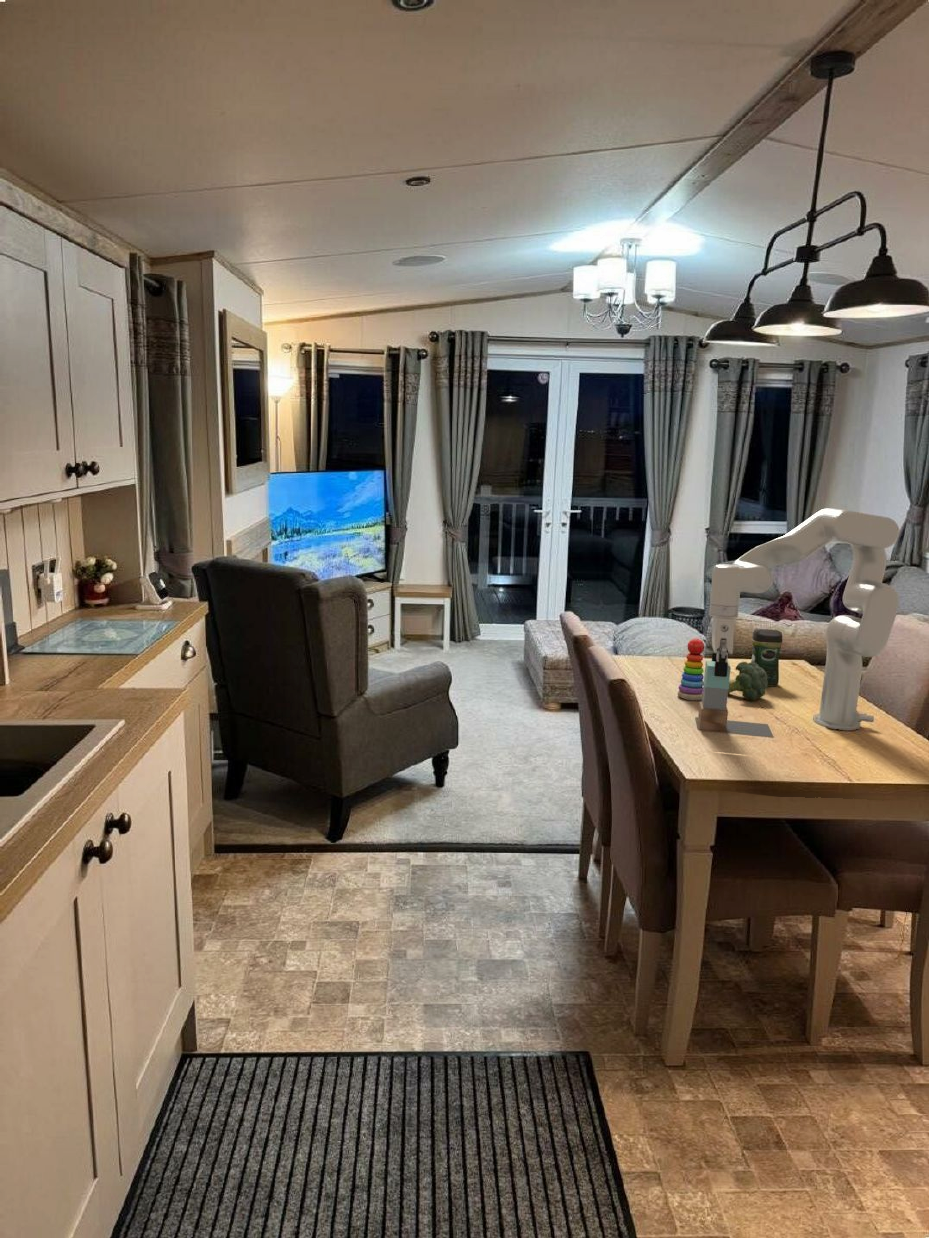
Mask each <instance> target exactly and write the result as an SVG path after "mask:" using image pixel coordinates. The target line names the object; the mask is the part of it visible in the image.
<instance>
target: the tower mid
mask: <svg viewBox="0 0 929 1238" xmlns="http://www.w3.org/2000/svg"><path fill="white" fill-rule="evenodd" d="M702 687H703V692H702V693H703V695H702V699H701V702H702V705H703V708H704V709H715V710H726V707H727V706H728V705H727V704H728V696H729V694H728V689H720V688H708V687H705V684H704V685H703V686H702Z"/></svg>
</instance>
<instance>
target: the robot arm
mask: <svg viewBox="0 0 929 1238" xmlns="http://www.w3.org/2000/svg"><path fill="white" fill-rule="evenodd" d="M899 536H900V527H899V525H898V523H897V522H896V521H895V520H894V519H892V518H890V517H888V516H881V515H875V514H868V513H863V512H859V511H854V510H850V509H843V508H835V507H827V508H826V507H825V508H822V509H820V510H819V511H817V512H815V513H814V514H812V515H811V516H810V517H808V518H807V519H806V520H804V521H803V522H801V523H800V524H798V525H797V526H796V527H795V528H793V529H792V530H790V531H789V532H787V533H785V535H784V534H783V536H780V537H777V538H774V539H772V540H770V541H766V542H765V543H762V544H760V545H757V546H755V547H754V548H751V549H750V550H748V551H747V552H745V553H744V554H743V555H741V556H740V557H739V558H737V559H735V560H734V561H733V563H732V564H727V563H720V564H716V565H714V566H713V569H712V576H711V584H710V585H711V588H710V598H709V599H710V601H709V611H708V615H709V616H710V617H712V618H713V619H712V630H711V647H712V653H711V654H712V655H711V661H715V672H714V675H715V676H719V677H726V676H727V668H728V663H729V662H728V661H729V660H728V659H729V657H728V654H729V655H732V654H733V652H734V637H735V619H737V618H739V611H740V610H739V608H740V599H741V598H740V597H741V593H751V594H762V593H766V592H767V591H768V590H769V589H771V587H772V586H773V584H774V575H773V572H772V571H771V570H770V569H772V568H774V567H779V566H782V565H783V566H784V565H790V564H797V563H800V562H803V561H805V560H807V559H809V557H811V556H812V555H814V554H815V553H816V552H818V551H819V550H821V549H822V548H823V547H825V546H826V545H827V544H829V543H830V542H832V541H836V542H841V543H846V544H849V545H850V547H851V550H852V556H853V559H852V560H853V561H852V565H851V568H850V572H849V575H848V579H847V582H846V585H845V587H844V591H843V594H842V603H843V605H844V606H845V608H846V609H848V610H850V611H852V612H855V613H858V614H861V615H862V616H861V618H860V617H856V616H854V615H849V614H848V615H847V614H843V615H842V614H841V615H837V616H835V617H832V619H831V620H830V621H829V623H828V624H827V626H826V631H825V639H826V641H825V643H826V660H825V667H824V674H823V683H822V688H821V689H822V691H821V699H820V708H819V712H818V713H816V714H815V715H813V716H812V721H813V722H814V723H815V724H817V725H820V726H821V727H822V726H823V727H824V728H827V729H832V730H836V729H839V731H855V730H856V729H857V730H859V729H860V728H861V723H862V722H868V723H873V722H874V720H875V718H874V715H870V714H868V713H863V712H859V711H858V709H857V707H858V701H859V695H860V694H859V693H860V687H861V686H860V685H861V679H862V678H861V677H862V672H863V658H862V657H865V658H872V657H875V656H878V655H879V654H881V653H882V651H883V650H884V649H885V647H886V645H887V643H888V641H889V638H890V635H891V633H892V629H893V626H894V624H895V620H896V617H897V615H898V611H899V607H900V599H899V598H900V597H899V594H898V592H897V591H896V589H895V588H894V587H893V586H892V585H889V584H887V583H883V580H884V576H885V571H886V568H887V562H888V561H887V553H886V549H889V548H890V547H892V546H893V545H895V544H896V542H897V541H898V538H899Z"/></svg>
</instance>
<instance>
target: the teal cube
mask: <svg viewBox="0 0 929 1238" xmlns="http://www.w3.org/2000/svg"><path fill="white" fill-rule="evenodd" d="M731 669H732V668H731V666H730V663H729V662H728V668H727V676H726V677H719V676H715V675H714V672H715V661H712V660H705V667H704V674H703V676H704V678H703V682H704V684H705V687H708V688H720V689H729V680H731V679H730V678H731Z"/></svg>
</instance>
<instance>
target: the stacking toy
mask: <svg viewBox="0 0 929 1238" xmlns="http://www.w3.org/2000/svg"><path fill="white" fill-rule="evenodd" d="M686 647H687V651H688V652H689V653H687V654H686V660H685V661H684V667H683V669H682V670H683V672H682V674H681V677H682V678H681V679H680V684H679V685H678V691H677V697H679V698H680V697H681V698H680V699H682V698H683V699H684V700H687V701H702V695H703V685H704V674H703V673H704V668H703V666H704V664H703V660H704V656H703V654H702V653H703V652H704V651H705V643H704V642H703V641H702V640H701V639H700V638H692V639H691V640H689V642H688V643H687V646H686ZM683 699H682V700H683Z"/></svg>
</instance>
